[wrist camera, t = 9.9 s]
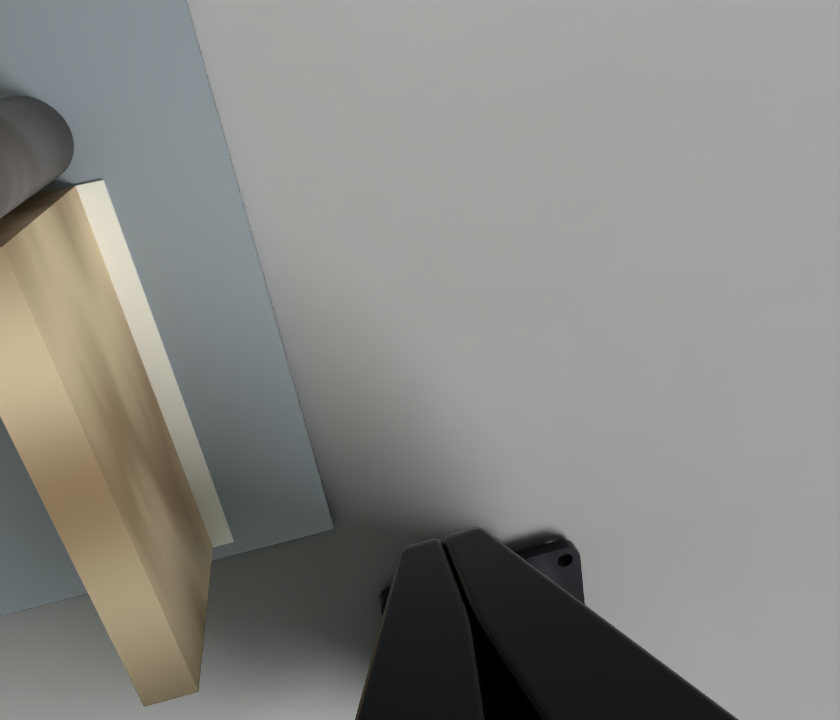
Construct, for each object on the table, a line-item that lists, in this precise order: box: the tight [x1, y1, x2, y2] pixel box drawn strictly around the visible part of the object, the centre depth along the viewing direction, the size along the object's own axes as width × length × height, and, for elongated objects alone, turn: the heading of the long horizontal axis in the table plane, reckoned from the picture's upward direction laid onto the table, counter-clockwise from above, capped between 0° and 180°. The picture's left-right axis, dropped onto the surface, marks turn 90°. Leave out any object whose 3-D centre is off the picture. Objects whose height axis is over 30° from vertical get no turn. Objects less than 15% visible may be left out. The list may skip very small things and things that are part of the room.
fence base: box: [0, 96, 213, 707], centre depth 15 cm, size 12×2×6 cm, turn 10°
